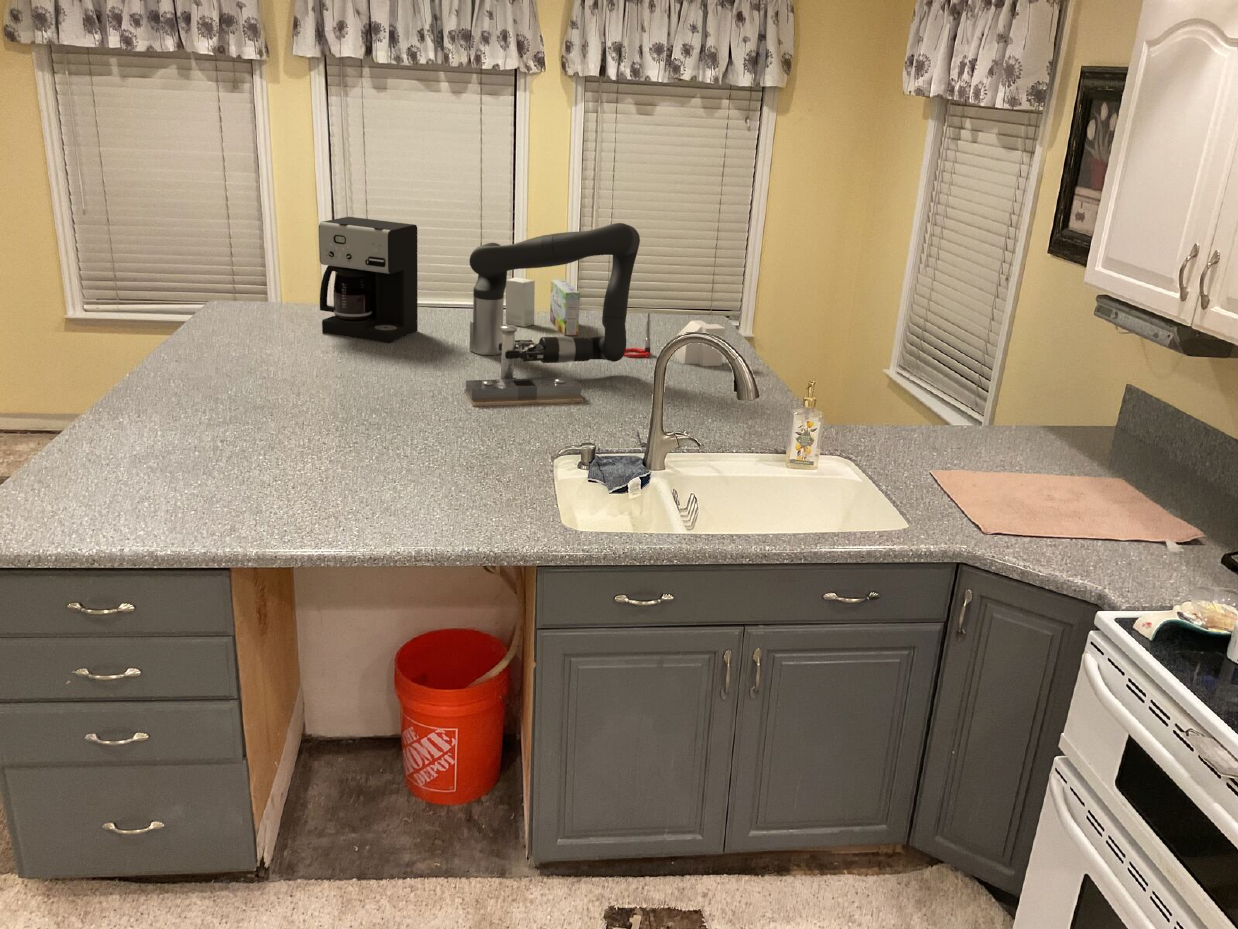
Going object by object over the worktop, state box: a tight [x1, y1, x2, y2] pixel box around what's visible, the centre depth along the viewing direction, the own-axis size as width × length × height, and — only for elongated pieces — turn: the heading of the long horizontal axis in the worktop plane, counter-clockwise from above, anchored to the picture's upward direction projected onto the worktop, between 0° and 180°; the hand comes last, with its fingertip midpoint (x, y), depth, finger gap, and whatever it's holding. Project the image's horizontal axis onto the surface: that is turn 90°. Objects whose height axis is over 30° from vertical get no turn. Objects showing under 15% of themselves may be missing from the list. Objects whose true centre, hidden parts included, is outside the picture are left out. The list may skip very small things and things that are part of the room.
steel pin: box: [500, 324, 518, 379], centre depth 288 cm, size 5×5×15 cm
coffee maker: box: [318, 216, 419, 344], centre depth 322 cm, size 28×20×35 cm
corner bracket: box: [674, 319, 726, 367], centre depth 320 cm, size 11×11×12 cm
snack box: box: [549, 279, 581, 337], centre depth 348 cm, size 21×6×15 cm, turn 17°
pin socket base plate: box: [463, 376, 584, 407], centre depth 274 cm, size 30×12×5 cm, turn 109°
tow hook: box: [623, 312, 652, 359], centre depth 323 cm, size 9×14×10 cm
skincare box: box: [505, 276, 536, 328], centre depth 349 cm, size 8×7×16 cm
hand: (502, 350), depth 287 cm, fingers open, 8 cm apart
